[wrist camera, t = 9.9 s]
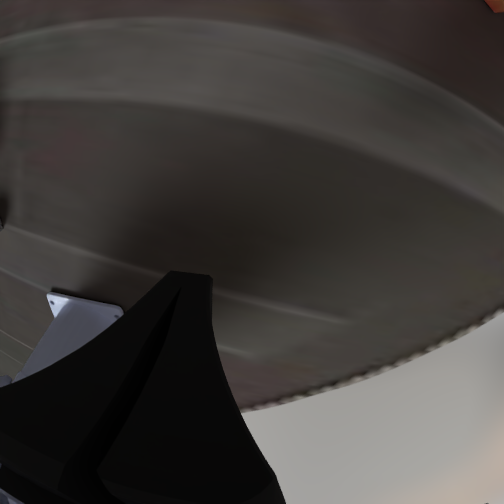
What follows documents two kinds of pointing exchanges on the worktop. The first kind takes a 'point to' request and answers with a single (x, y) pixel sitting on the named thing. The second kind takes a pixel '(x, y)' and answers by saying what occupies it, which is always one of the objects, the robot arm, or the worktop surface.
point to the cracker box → (496, 5)
